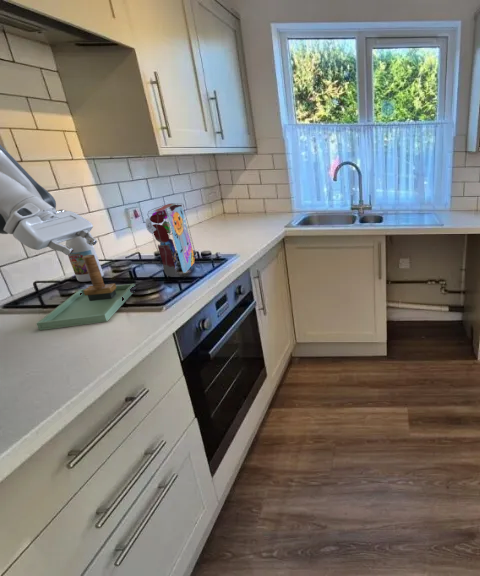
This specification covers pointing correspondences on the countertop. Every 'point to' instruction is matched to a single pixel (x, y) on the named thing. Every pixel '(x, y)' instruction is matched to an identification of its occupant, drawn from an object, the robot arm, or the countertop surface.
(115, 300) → the tray
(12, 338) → the countertop surface
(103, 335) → the countertop surface
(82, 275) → the milk bottle
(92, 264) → the stamp
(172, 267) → the box
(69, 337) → the countertop surface
